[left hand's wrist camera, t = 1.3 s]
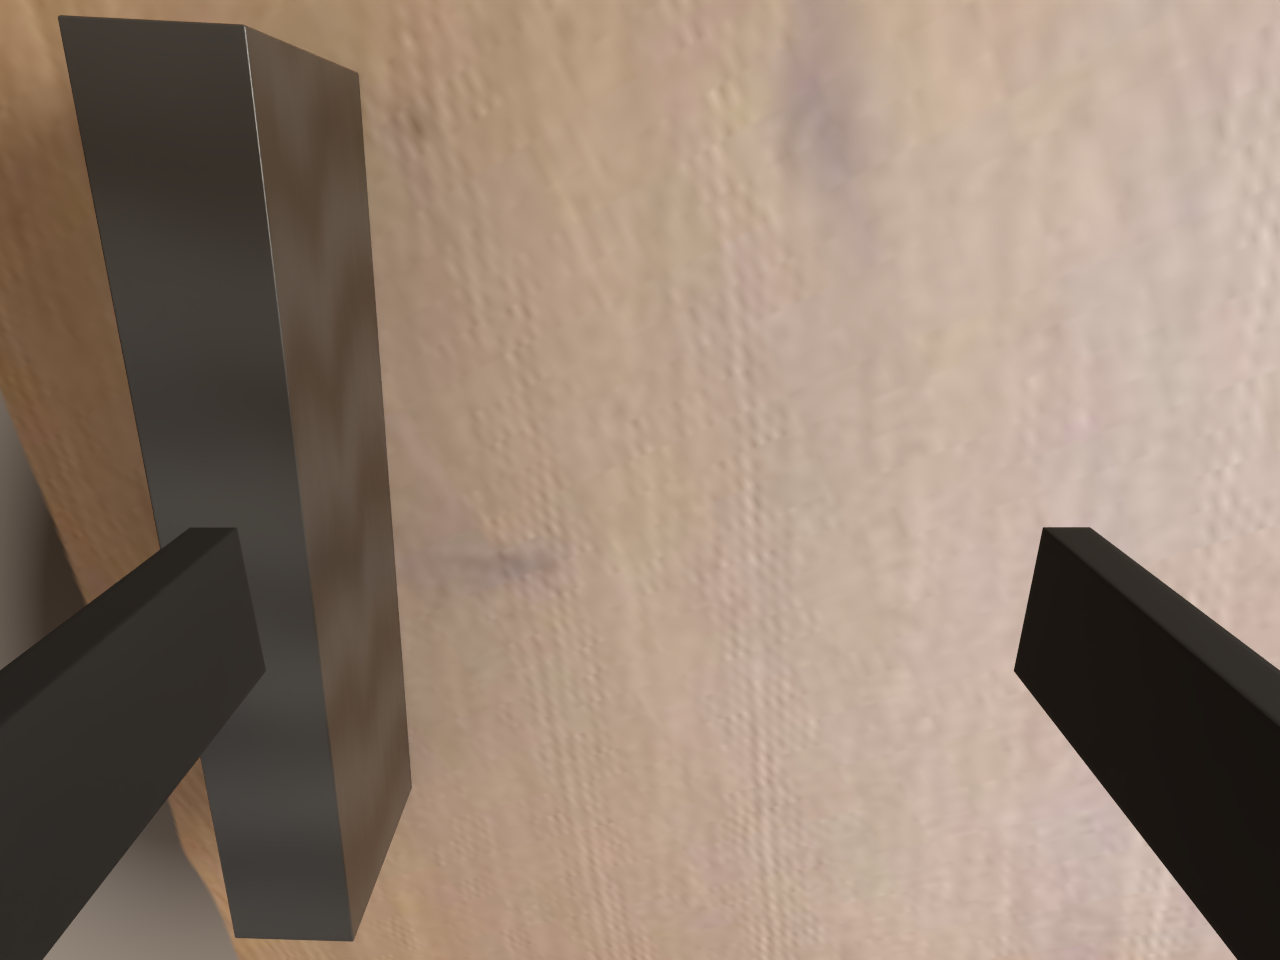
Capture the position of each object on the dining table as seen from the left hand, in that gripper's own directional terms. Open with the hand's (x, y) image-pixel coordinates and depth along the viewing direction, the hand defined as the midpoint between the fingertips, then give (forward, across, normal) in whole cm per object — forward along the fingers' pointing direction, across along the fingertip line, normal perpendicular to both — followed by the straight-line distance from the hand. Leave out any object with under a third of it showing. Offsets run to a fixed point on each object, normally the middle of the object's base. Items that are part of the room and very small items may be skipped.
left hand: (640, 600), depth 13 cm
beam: (+21, -14, -6) cm, 26 cm away
